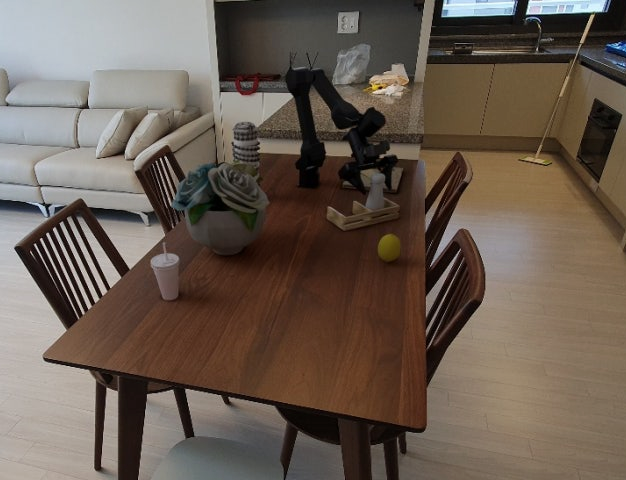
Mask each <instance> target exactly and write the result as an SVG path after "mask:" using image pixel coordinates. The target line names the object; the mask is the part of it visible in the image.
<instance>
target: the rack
mask: <svg viewBox="0 0 626 480" xmlns="http://www.w3.org/2000/svg"><path fill="white" fill-rule="evenodd" d="M383 199H384V209H379V210H375V211H372V210H370V209H369V208H367V207H365V205H363V204H362V203H360V202H359V201H357V200H353V203H352V215H349V216H345V215H344V214H342V213H340V212H339V211H338V210H336V209H334V208H333V207H331V206H327V207H326V208H327V210H326V220H328V221H329V222H331V223H332V224H334V225H335V226H336V227H338V229H339V228H340V229H341V230H342V231H345V232H346V231H350V230H355V229H358V228H363V227H366V226H371V225H375V224H379V223H384V222H387V221H392V220H397V219H399V215H400V213H398V211H400V209H401V205H399V204H397V203H396V202H394V201H392V200H390V199H388V198H386V197H384V196H383ZM385 214H386V215H385ZM378 215H380V216H379V217H373V216H378Z"/></svg>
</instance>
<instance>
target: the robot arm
mask: <svg viewBox="0 0 626 480" xmlns="http://www.w3.org/2000/svg"><path fill="white" fill-rule="evenodd" d="M284 81H285V85H286V87H287V90H288V92H289V93H290V95H291V96H292V97H293V98H294V103H295V104H294V105H295V107H296V113H297V118H298V125H299V130H300V134H301V140H302V143H301V146H300V149H299V150H300V151H299V153H300V157H299V158H298V159H297V160H296V161H295V163H294V166H295V169H296V170H298V174H299V175H298V184H297V185H296V186H297V187H300V188H309V189H315V188H316V187H317V186H318V185H319V184H320V180H321V179H320V177H321V175H320V174H321V172H320V171H319V170H320V169H319V168H322V167H323V165H324V162H325V160H326V157H327V155H326V154H327V150H326V145H325V142H324V141H321V140H320V139H318V136H317V131H316V125H315V119H314V113H313V110H312V109H313V107H312V103H311V99H310V91H311V89H312V87H313V88H314V90H315V91H316V93H317V94H318V95H319V97H320V98H321V99H322V100H323V102H324V103H325V105H326V107H327V108H328V109H329V111H330V118H331V121H332V123H333V124H334V126H335V128H336V129H337V130H339V131H343V130H347V129H349V130H348V131H344V133H343V136H342V138H341V141H342V142H348V145H349V148H350V150H351V154H350V157H351V158H354V160H353V161H348V162H344V163H343V164H342V166H341V167H340V168H339V169H338V172H337V175H338V178H339V180H343V182H344V181H348V182H349V183H350V184H352V185H353V186H354V187H355V188H356V189H355V190H357V191H358V192H360V193H361V194H362V196H366V195H367V194H368V193H367V190H366V189H365V186H364V184H363V181H362V179H361V171H363V170H369V169H374V168H378V170H379V171H381V172H380V173H381V174H384V175H385V182H384V183H385V185H386V187H387V188H388V189H389V190H390V189H392V169H393V167H396V166H397V164H398V163H399V162H400V160H399V158H398V155H396V154H393V153H391V154H388V153H387V152H390V150H391V144H390V142H389V141H388V139H384V140H381V141H379V143H376V144H375V143H373V142H370V140H369V138H372V137H374V136H375V135H376V134H377V133H378V132H380V130H381V129H383V127H385V126H386V123H387V119H386V117H385V115H384V113H382V112H381V111H380V110H377V109H376V108H375V107H374V106H371V107H368V108H367V109H366V110H365V112H364V113H362V112H360V111H359V110H358V109H357V107H355V106H354V104H352V103H351V102H348V101H347V100H346V99H344V98H343V97H342V96H341V94H340V93H339V92H338V90H337V89H336V88H335V86H334V85H333V83H332V82H331V80H330V79H329V78H328V77H327V75H326V72H325V70H324V69H323V68H321V67H318V68H317V67H316V68H308V67H307V66H301V67H293V68H289V69H288V70H287V71H286V73H285V75H284ZM382 155H384V156H383V157H382V158H381V156H382ZM380 158H381V159H380ZM379 159H380V160H379ZM372 165H373V166H372Z"/></svg>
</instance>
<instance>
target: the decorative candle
mask: <svg viewBox="0 0 626 480" xmlns="http://www.w3.org/2000/svg"><path fill="white" fill-rule="evenodd" d="M231 130H232V131H233V140H232V141H231V143H230V144H231V146H232V149H231V151H232V157H233V160H232V163H234V162H235V161H236V160H239V162H240V164H242V163H243V164H249V163H250V164H252V165H253V167H254V168H255V169H256V171H257V172H259V167H260V162H259V161H260V160H261V158H260V157H259V156H260V155H261V153H260V152H259V151H260V150H261V146H260V145H261V142H260V141H259V137H258V130H259V128H258V126H256V125H255V123H254V122H251V121H240V122H237V123H236V124H235V125H234V127H232V128H231ZM259 176H260V172H259V173H258V174H257V175H256V176H255V177H254V179H255V180H256V179H257V178H258V177H259ZM257 184H258V186H259V188H260V187H261V182H258V183H257ZM260 189H261V188H260Z"/></svg>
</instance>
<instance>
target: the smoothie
mask: <svg viewBox="0 0 626 480" xmlns="http://www.w3.org/2000/svg"><path fill="white" fill-rule="evenodd" d="M162 247H163V253H160V254H157V255H155V256H154V257H152V258H151V259H150V267H151V268H152V269H153V272H154V276H155V278H156V281H157V285H158V287H159V290H160V294H161V297H162V298H163V300H165V301H173V300H176V299H177V298H178V297H179V265H180V262H181V261H180V258H179V256H178V255H177V254H175V253H170V252H169V253H168V251H167V244H166V242H162Z"/></svg>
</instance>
